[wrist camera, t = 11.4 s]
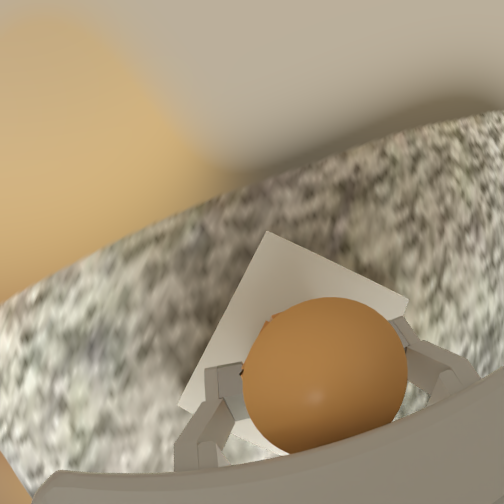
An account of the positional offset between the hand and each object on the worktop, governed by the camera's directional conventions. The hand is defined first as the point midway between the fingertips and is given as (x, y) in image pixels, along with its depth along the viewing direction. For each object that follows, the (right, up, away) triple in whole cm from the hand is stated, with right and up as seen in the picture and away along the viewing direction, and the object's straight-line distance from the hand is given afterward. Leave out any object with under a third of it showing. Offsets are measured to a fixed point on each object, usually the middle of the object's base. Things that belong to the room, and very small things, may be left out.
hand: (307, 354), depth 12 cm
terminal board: (+1, -2, +7) cm, 8 cm away
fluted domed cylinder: (0, -2, +4) cm, 4 cm away
